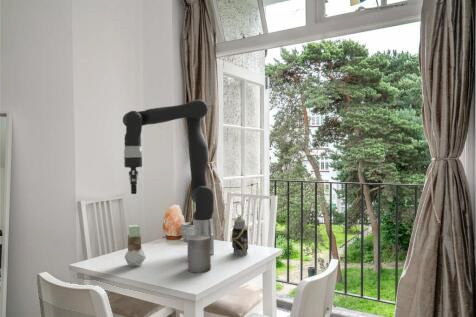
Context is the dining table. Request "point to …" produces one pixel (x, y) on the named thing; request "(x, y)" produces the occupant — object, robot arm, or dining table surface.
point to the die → (135, 257)
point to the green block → (134, 230)
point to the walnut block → (134, 243)
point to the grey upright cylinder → (199, 253)
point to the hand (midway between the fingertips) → (133, 193)
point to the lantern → (240, 236)
